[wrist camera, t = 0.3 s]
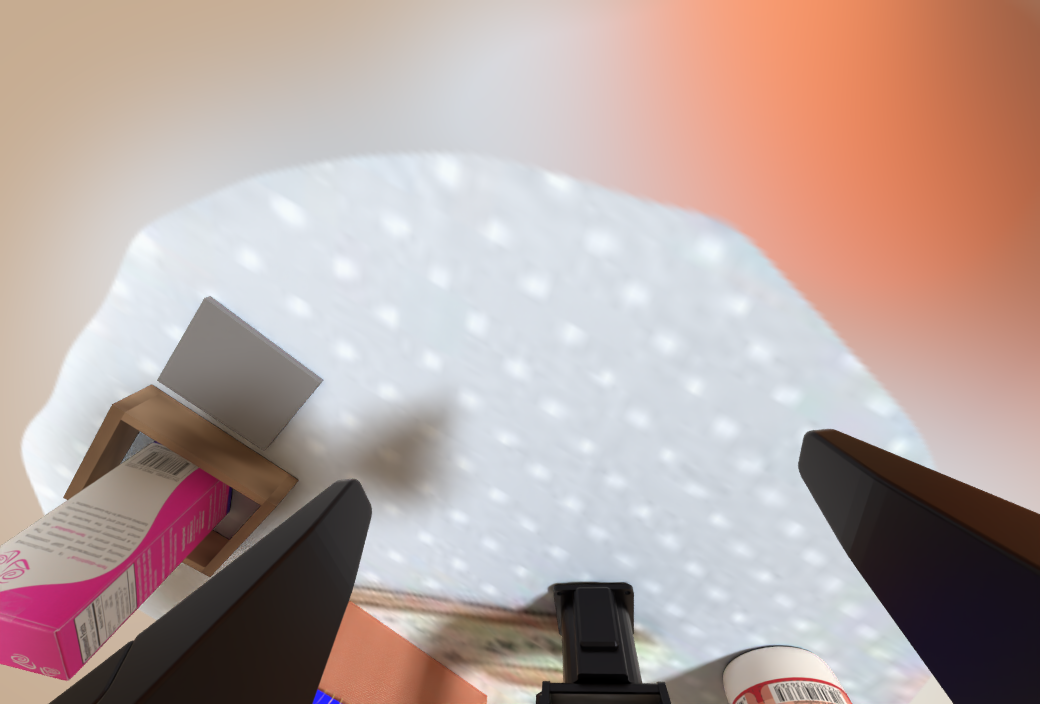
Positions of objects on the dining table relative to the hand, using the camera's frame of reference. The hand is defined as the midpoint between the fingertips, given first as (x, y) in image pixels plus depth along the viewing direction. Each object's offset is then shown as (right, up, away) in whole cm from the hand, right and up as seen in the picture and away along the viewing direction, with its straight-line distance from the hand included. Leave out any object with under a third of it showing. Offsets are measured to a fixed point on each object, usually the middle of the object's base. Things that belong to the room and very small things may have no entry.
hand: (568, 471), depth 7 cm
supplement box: (-26, -7, +21) cm, 34 cm away
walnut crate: (-26, -7, +21) cm, 34 cm away
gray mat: (-19, +1, +17) cm, 26 cm away
